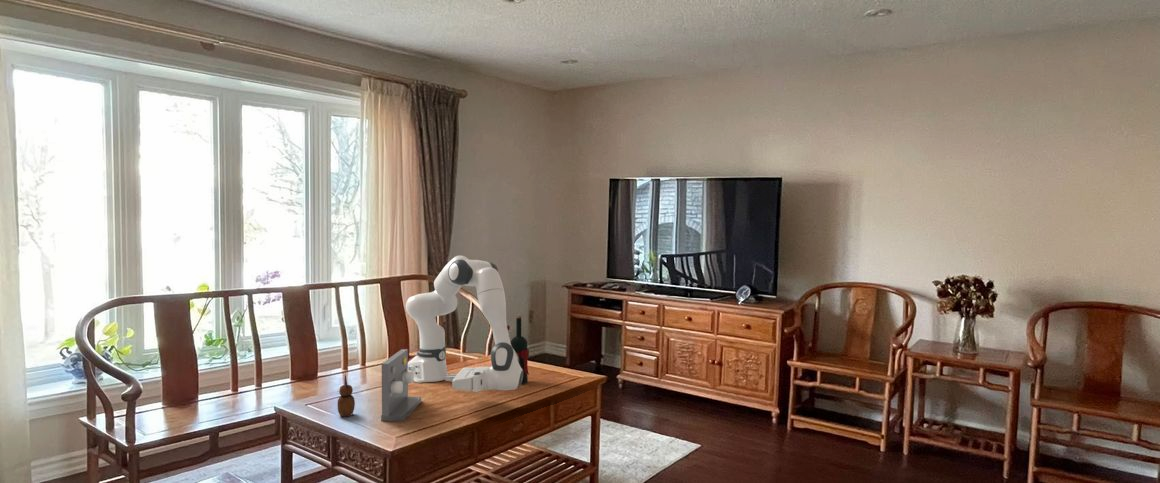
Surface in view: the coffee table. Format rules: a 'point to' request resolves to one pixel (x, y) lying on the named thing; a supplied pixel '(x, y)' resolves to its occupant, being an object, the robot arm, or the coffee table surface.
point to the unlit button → (396, 387)
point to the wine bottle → (521, 349)
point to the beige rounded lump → (408, 377)
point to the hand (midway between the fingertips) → (445, 377)
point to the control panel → (396, 404)
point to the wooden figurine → (346, 400)
